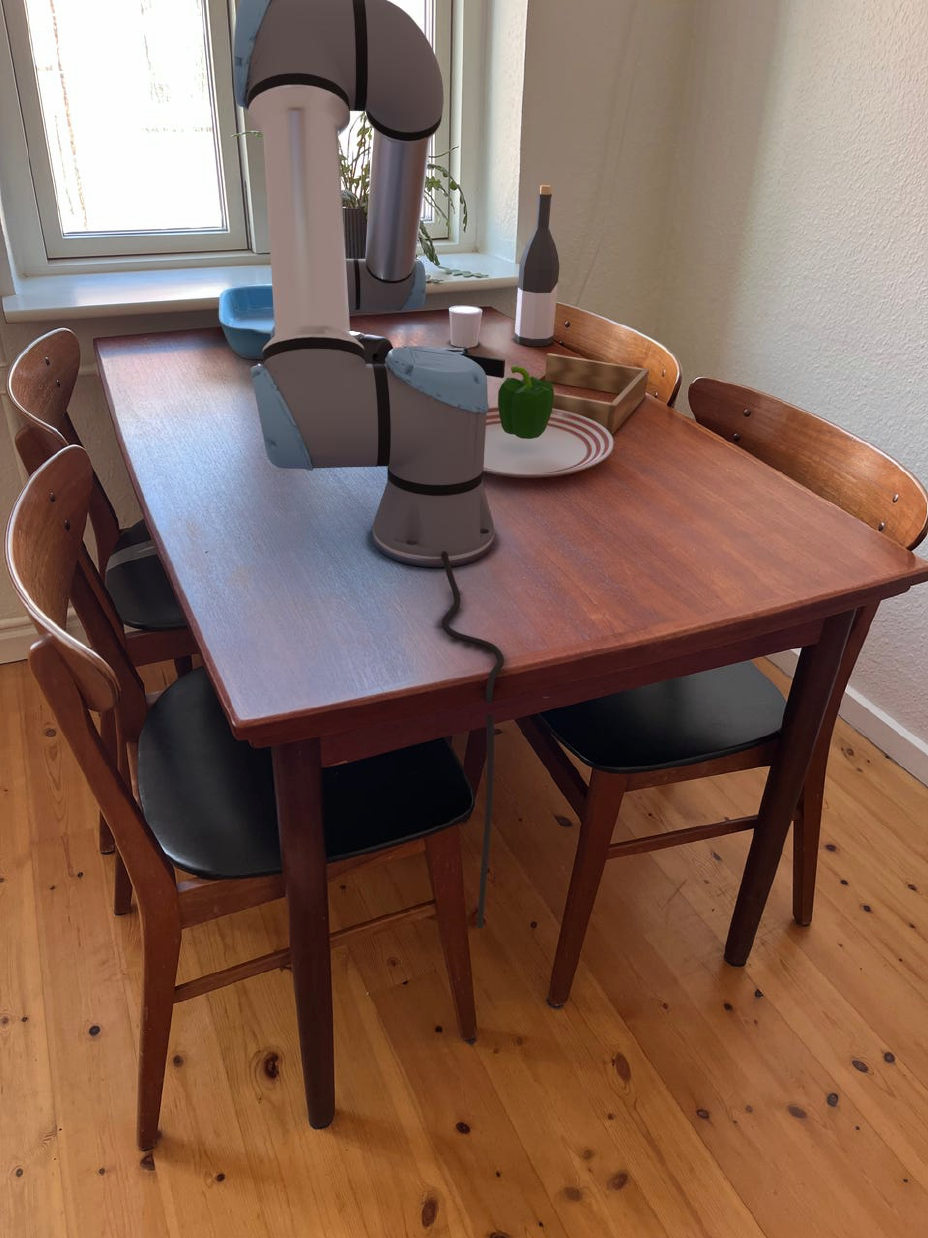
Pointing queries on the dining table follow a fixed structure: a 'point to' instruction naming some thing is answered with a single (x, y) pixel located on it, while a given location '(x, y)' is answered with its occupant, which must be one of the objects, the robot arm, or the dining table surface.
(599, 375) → the crate
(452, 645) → the dining table surface
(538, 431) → the bell pepper
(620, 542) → the dining table surface
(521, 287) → the wine bottle
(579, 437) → the dinner plate
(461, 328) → the white cup
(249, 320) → the casserole dish
